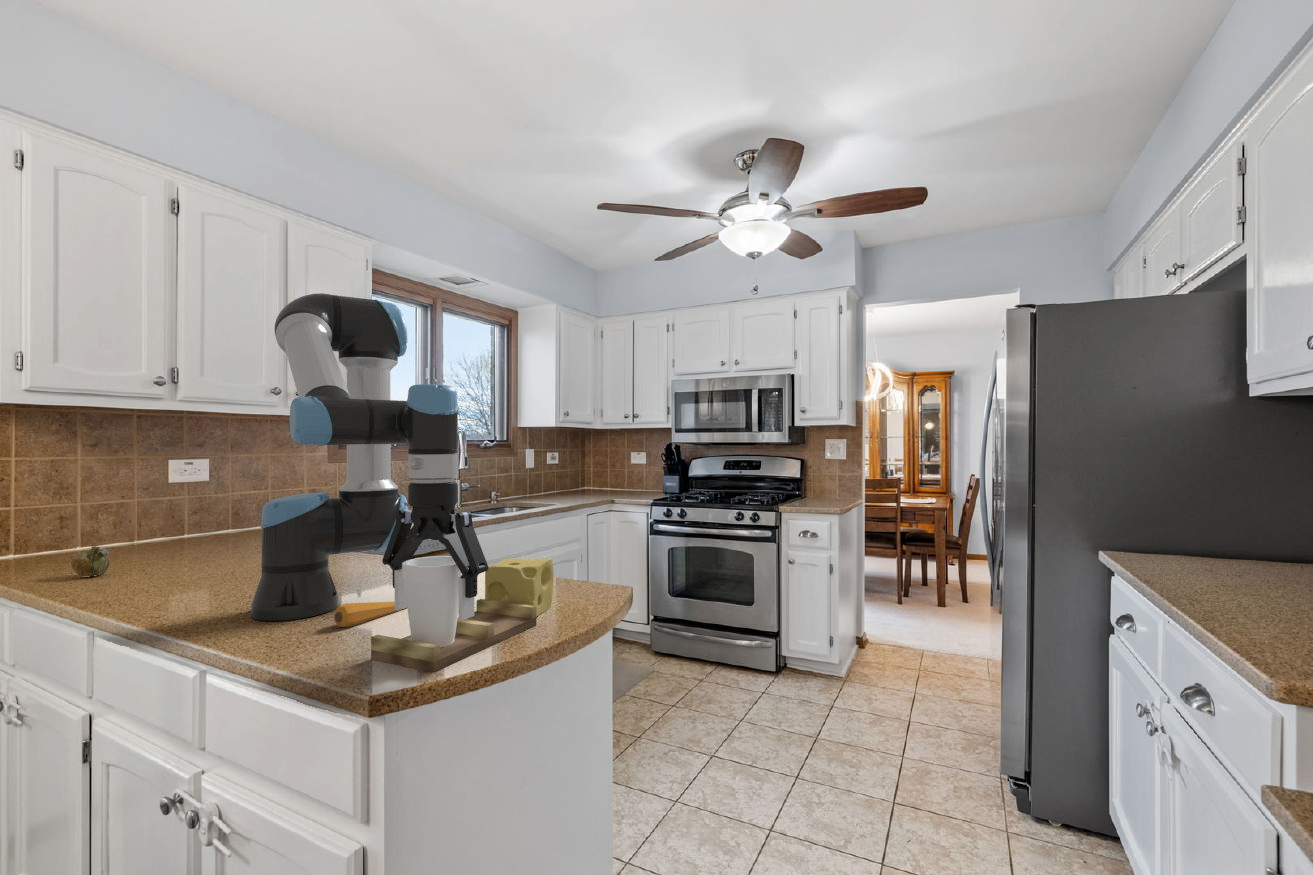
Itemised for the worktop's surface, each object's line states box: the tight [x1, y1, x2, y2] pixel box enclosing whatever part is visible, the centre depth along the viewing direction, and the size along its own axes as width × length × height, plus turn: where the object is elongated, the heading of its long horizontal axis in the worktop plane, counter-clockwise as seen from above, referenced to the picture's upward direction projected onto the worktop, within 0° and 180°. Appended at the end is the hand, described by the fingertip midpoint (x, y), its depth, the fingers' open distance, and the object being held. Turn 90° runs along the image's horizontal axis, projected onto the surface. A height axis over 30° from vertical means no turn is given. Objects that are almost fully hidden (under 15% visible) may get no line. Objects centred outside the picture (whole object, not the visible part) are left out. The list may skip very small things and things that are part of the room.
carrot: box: [333, 601, 401, 628], centre depth 119 cm, size 20×4×4 cm, turn 155°
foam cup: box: [402, 555, 462, 648], centre depth 98 cm, size 10×9×13 cm
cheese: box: [484, 557, 555, 619], centre depth 121 cm, size 10×11×10 cm
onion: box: [71, 545, 111, 577], centre depth 156 cm, size 8×8×8 cm
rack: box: [370, 598, 537, 673], centre depth 103 cm, size 13×25×4 cm, turn 155°
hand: (433, 613), depth 98 cm, fingers open, 13 cm apart
